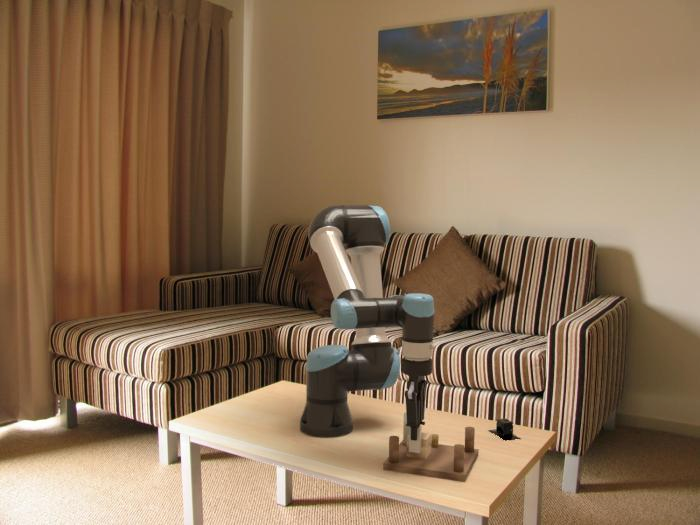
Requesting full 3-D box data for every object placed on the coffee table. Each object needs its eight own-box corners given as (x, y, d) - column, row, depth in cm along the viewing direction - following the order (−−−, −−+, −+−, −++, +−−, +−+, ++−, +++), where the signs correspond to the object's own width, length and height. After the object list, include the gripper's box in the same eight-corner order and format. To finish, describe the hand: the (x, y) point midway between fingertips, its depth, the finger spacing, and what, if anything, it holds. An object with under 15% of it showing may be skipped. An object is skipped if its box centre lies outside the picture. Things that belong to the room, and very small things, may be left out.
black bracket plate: (527, 442, 195) (528, 426, 195) (504, 445, 193) (504, 428, 192) (503, 428, 207) (504, 413, 206) (481, 430, 204) (482, 415, 204)
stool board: (383, 469, 173) (383, 439, 172) (403, 445, 190) (403, 417, 189) (465, 481, 166) (466, 450, 165) (478, 455, 183) (479, 426, 182)
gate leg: (402, 444, 185) (402, 414, 185) (404, 441, 188) (404, 411, 187) (427, 447, 184) (427, 416, 183) (428, 443, 186) (429, 413, 186)
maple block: (406, 456, 177) (406, 437, 177) (411, 450, 182) (412, 431, 181) (425, 459, 175) (426, 439, 175) (430, 452, 180) (431, 433, 180)
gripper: (425, 364, 166) (423, 462, 168) (438, 353, 178) (435, 445, 180) (394, 361, 168) (392, 458, 171) (409, 350, 181) (407, 441, 183)
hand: (414, 451), depth 175 cm, fingers closed
